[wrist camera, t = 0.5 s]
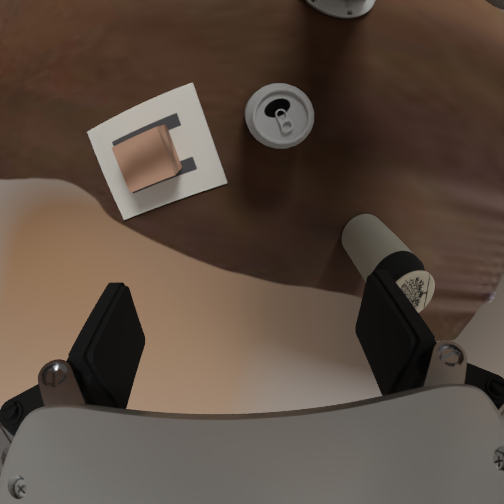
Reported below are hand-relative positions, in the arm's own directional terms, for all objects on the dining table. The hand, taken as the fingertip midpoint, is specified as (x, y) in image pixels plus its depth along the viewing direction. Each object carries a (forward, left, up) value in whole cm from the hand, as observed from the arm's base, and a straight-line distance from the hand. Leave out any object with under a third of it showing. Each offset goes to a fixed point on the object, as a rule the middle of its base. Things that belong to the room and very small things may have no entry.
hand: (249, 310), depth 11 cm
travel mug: (+18, +16, -34) cm, 41 cm away
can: (-5, +6, -34) cm, 35 cm away
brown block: (-5, -12, -33) cm, 36 cm away
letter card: (-5, -12, -34) cm, 36 cm away
